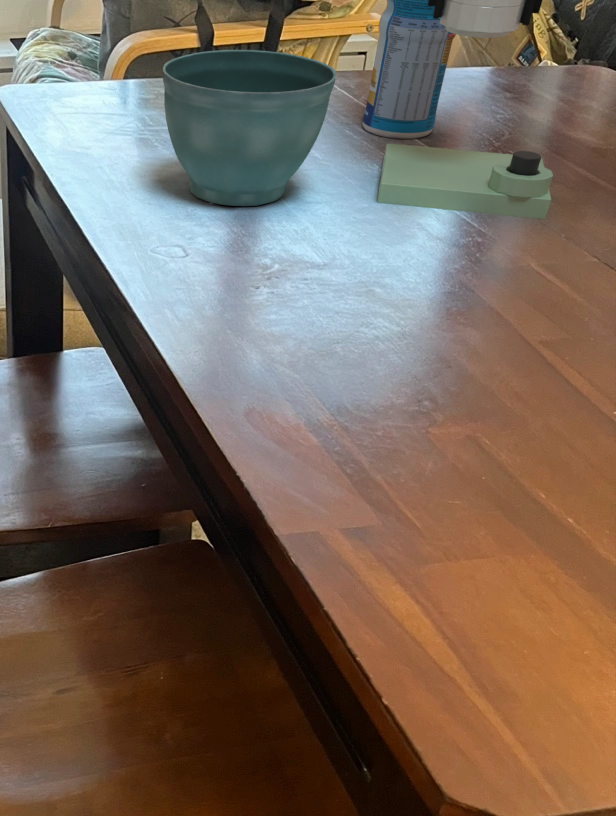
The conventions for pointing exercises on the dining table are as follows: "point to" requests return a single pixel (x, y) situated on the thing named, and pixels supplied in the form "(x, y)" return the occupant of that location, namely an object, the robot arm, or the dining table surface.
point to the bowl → (482, 17)
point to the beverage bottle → (407, 71)
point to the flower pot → (244, 120)
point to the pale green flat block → (462, 182)
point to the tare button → (524, 163)
